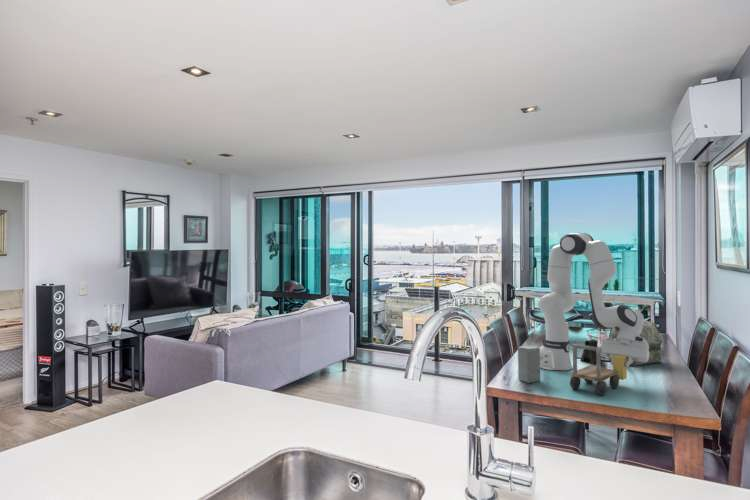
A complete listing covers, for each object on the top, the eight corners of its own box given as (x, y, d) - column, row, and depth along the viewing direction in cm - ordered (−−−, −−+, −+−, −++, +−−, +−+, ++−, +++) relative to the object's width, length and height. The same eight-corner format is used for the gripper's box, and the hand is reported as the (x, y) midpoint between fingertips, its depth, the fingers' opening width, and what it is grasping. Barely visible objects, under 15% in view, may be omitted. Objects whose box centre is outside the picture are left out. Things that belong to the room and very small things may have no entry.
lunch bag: (630, 368, 230) (630, 325, 230) (602, 359, 248) (601, 320, 247) (667, 363, 239) (667, 322, 238) (637, 355, 256) (637, 317, 256)
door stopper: (602, 363, 239) (602, 341, 239) (594, 365, 236) (594, 342, 236) (588, 360, 247) (587, 338, 247) (580, 361, 245) (580, 339, 245)
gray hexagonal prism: (528, 383, 205) (528, 349, 205) (516, 379, 212) (516, 346, 212) (541, 381, 209) (541, 347, 209) (529, 377, 216) (529, 344, 216)
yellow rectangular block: (613, 378, 202) (613, 356, 202) (617, 376, 205) (616, 354, 205) (623, 380, 199) (622, 357, 199) (626, 378, 202) (626, 356, 202)
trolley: (570, 390, 196) (569, 343, 196) (589, 380, 209) (589, 337, 209) (600, 397, 186) (600, 348, 186) (619, 386, 199) (618, 341, 199)
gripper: (601, 333, 214) (593, 357, 208) (649, 339, 199) (642, 365, 192) (605, 341, 217) (597, 365, 211) (653, 348, 202) (646, 373, 195)
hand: (619, 365), depth 202 cm, fingers closed on yellow rectangular block, 4 cm apart
